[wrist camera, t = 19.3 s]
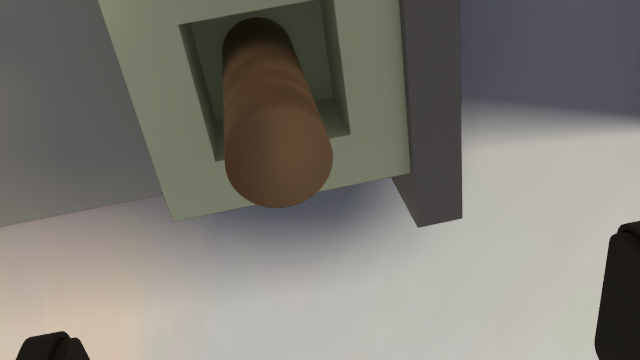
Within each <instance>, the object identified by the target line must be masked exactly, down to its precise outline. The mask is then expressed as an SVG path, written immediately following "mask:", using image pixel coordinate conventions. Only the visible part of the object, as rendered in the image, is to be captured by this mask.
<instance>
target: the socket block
mask: <svg viewBox="0 0 640 360" xmlns="http://www.w3.org/2000/svg"><path fill="white" fill-rule="evenodd" d="M98 2H99V5H100V8H101V11H102V14H103V17H104V20H105V23H106V26H107V29H108V32H109V35H110V38H111V41H112V44H113V47H114V50H115V53H116V55H117V58H118V61H119V64H120V67H121V70H122V73H123V76H124V79H125V82H126V85H127V88H128V91H129V94H130V97H131V100H132V103H133V106H134V109H135V112H136V115H137V117H138V120H139V123H140V126H141V129H142V132H143V135H144V138H145V141H146V144H147V147H148V150H149V153H150V156H151V159H152V162H153V165H154V168H155V171H156V174H157V176H158V179H159V182H160V185H161V188H162V191H163V194H164V197H165V200H166V203H167V206H168V209H169V212H170V215H171V218H172V221H173V222H174V221H179V220H184V219H189V218H194V217H199V216H204V215H208V214H213V213H218V212H223V211H228V210H233V209H238V208H242V207H247V206H252V205H257V204H254V203H252V202H250V201H248V200H246V199H245V198H243V197H242V196H241V195H240V194H239V193H238V192H237V191H236V190H235V189H234V188H233V186H232V185H231V183H230V181H229V180H228V177H227V174H226V170H225V153H224V107H223V60H222V48H223V43H224V40H225V37H226V35H227V34H228V32H229V31H230V30H231V28H232V27H233V26H235V25H236V24H237V23H239V22H241V21H243V20H245V19H249V18H255V17H260V18H266V19H270V20H272V21H274V22H276V23H277V24H279V25H280V26H281V27H282V28H283V29H284V30H285V31H286V32H287V34H288V36H289V37H290V40H291V42H292V45H293V48H294V50H295V53H296V55H297V58H298V61H299V63H300V66H301V68H302V71H303V73H304V76H305V79H306V81H307V84H308V86H309V89H310V92H311V94H312V97H313V99H314V102H315V104H316V107H317V110H318V112H319V115H320V117H321V120H322V122H323V125H324V128H325V130H326V133H327V135H328V138H329V141H330V143H331V146H332V151H333V165H332V169H331V172H330V175H329V177H328V179H327V181H326V182H325V184H324V185H323V187H322V188H321V189H320V190H319V191H318V192H320V191H325V190H330V189H335V188H340V187H345V186H350V185H354V184H359V183H364V182H369V181H374V180H379V179H384V178H389V177H393V176H398V175H403V174H408V173H411V169H410V154H409V139H408V124H407V110H406V95H405V80H404V66H403V51H402V36H401V21H400V7H399V0H98Z"/></svg>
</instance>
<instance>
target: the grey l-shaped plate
mask: <svg viewBox="0 0 640 360" xmlns="http://www.w3.org/2000/svg"><path fill="white" fill-rule="evenodd" d="M399 7H400V21H401V36H402V51H403V66H404V80H405V95H406V110H407V124H408V139H409V154H410V169H411V173H408V174H403V175H398V176H393V177H391V178H392V180H393V182H394V184H395V186H396V188H397V189H398V191H399V193H400V195H401V197H402V199H403V201H404V203H405V204H406V206H407V208H408V210H409V212H410V214H411V216H412V218H413V219H414V221H415V223H416V225H417V227H418V228H419V227H423V226H428V225H433V224H437V223H442V222H447V221H452V220H456V219H461V218H462V154H461V81H460V7H459V0H399ZM161 194H163V191H162V188H161V185H160V182H159V179H158V176H157V174H156V171H155V168H154V165H153V162H152V159H151V156H150V153H149V150H148V147H147V144H146V141H145V138H144V135H143V132H142V129H141V126H140V123H139V120H138V117H137V115H136V112H135V109H134V106H133V103H132V100H131V97H130V94H129V91H128V88H127V85H126V82H125V79H124V76H123V73H122V70H121V67H120V64H119V61H118V58H117V55H116V53H115V50H114V47H113V44H112V41H111V38H110V35H109V32H108V29H107V26H106V23H105V20H104V17H103V14H102V11H101V8H100V5H99V2H98V0H0V227H2V226H7V225H12V224H17V223H22V222H27V221H32V220H37V219H42V218H47V217H52V216H57V215H62V214H67V213H72V212H77V211H81V210H86V209H91V208H96V207H101V206H106V205H111V204H116V203H121V202H126V201H131V200H136V199H141V198H146V197H151V196H156V195H161Z"/></svg>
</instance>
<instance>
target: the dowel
mask: <svg viewBox="0 0 640 360" xmlns="http://www.w3.org/2000/svg"><path fill="white" fill-rule="evenodd" d="M222 60H223V107H224V153H225V170H226V174H227V177H228V180H229V181H230V183H231V185H232V186H233V188H234V189H235V190H236V191H237V192H238V193H239V194H240V195H241V196H242V197H243V198H245V199H246V200H248V201H250V202H252V203H254V204H257V205H260V206H264V207H270V208H283V207H289V206H293V205H296V204H299V203H302V202H304V201H305V200H307V199H309V198H310V197H312V196H313V195H314V194H316V193H317V192H318V191H319V190H320V189H321V188H322V187H323V185H324V184H325V182H326V181H327V179H328V177H329V175H330V172H331V169H332V165H333V151H332V146H331V143H330V141H329V138H328V135H327V133H326V130H325V128H324V125H323V122H322V120H321V117H320V115H319V112H318V110H317V107H316V104H315V102H314V99H313V97H312V94H311V92H310V89H309V86H308V84H307V81H306V79H305V76H304V73H303V71H302V68H301V66H300V63H299V61H298V58H297V55H296V53H295V50H294V48H293V45H292V42H291V40H290V37H289V36H288V34H287V32H286V31H285V30H284V29H283V28H282V27H281V26H280V25H279V24H277V23H276V22H274V21H272V20H270V19H266V18H260V17H255V18H249V19H245V20H243V21H241V22H239V23H237V24H236V25H235V26H233V27H232V28H231V30H230V31H229V32H228V34H227V35H226V37H225V40H224V43H223V48H222Z"/></svg>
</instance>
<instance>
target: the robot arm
mask: <svg viewBox="0 0 640 360" xmlns="http://www.w3.org/2000/svg"><path fill="white" fill-rule="evenodd" d="M595 350H596V353H597V356H598V358H599V360H640V221H637V222H632V223H627V224H623V225H621V226H620V227H619V229H618V232H617V234H614V235H612V236H611V238H610V241H609V248H608V254H607V261H606V268H605V274H604V281H603V288H602V295H601V301H600V308H599V315H598V321H597V328H596V335H595ZM16 360H90V359H89V357H88V355H87V353H86V351H85V349H84V347H83V345H82V343H81V341H80V340H79V339H78V338H70V337H69V335H68V334H67V333H66V332H64V331H60V332H55V333H50V334H45V335H39V336H34V337H29V338H28V339H26V340H25V341H24V343H23V345H22V347H21V349H20V351H19V353H18V356H17V358H16Z"/></svg>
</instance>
